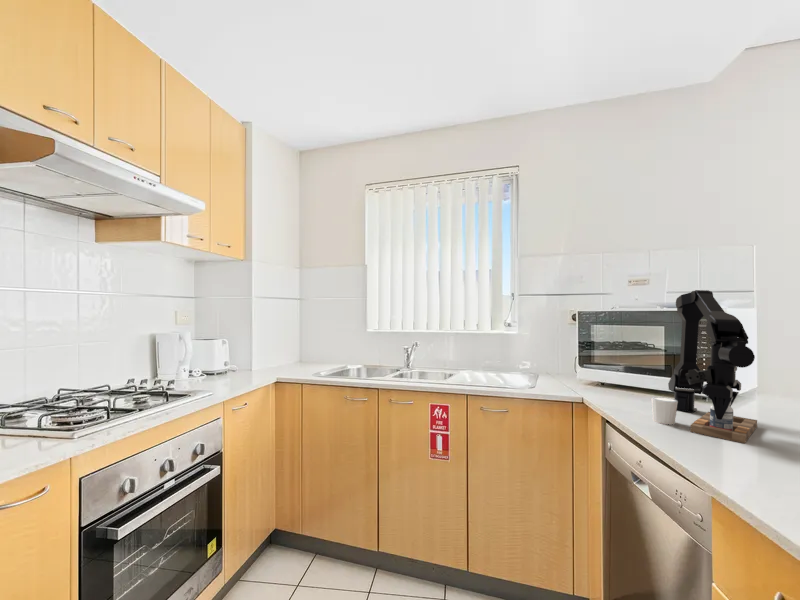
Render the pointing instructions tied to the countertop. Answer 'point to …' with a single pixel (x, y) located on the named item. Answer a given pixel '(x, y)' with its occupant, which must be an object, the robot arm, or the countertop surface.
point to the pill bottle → (725, 421)
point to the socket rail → (739, 433)
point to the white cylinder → (664, 410)
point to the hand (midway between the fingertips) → (721, 417)
